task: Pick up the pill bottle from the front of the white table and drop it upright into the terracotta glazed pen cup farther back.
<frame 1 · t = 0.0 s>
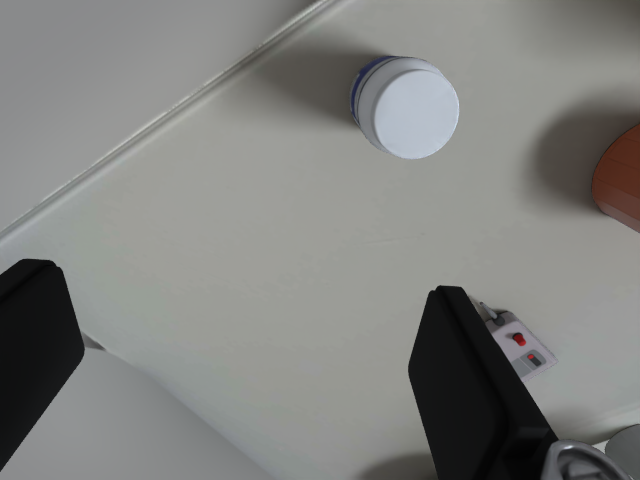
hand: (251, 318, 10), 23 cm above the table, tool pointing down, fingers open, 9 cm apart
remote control: (501, 343, 41), on the table
pill bottle: (383, 95, 29), on the table
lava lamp: (636, 441, 51), on the table
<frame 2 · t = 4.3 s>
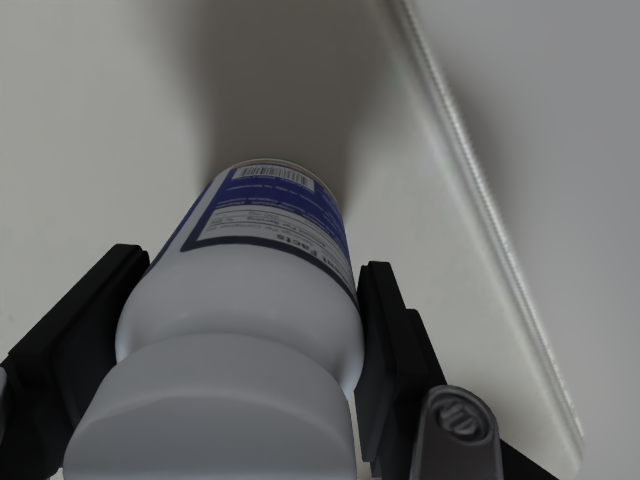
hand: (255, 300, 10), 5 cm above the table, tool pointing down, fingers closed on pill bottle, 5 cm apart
pill bottle: (272, 222, 15), on the table, touching gripper
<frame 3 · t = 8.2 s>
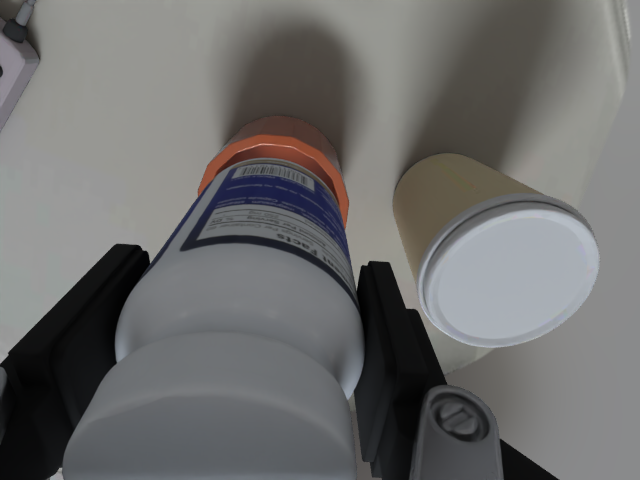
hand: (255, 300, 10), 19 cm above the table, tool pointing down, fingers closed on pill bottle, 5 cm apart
pen cup: (281, 177, 28), on the table
pill bottle: (272, 221, 15), point 14 cm above the table, touching gripper
coffee cup: (438, 198, 30), on the table
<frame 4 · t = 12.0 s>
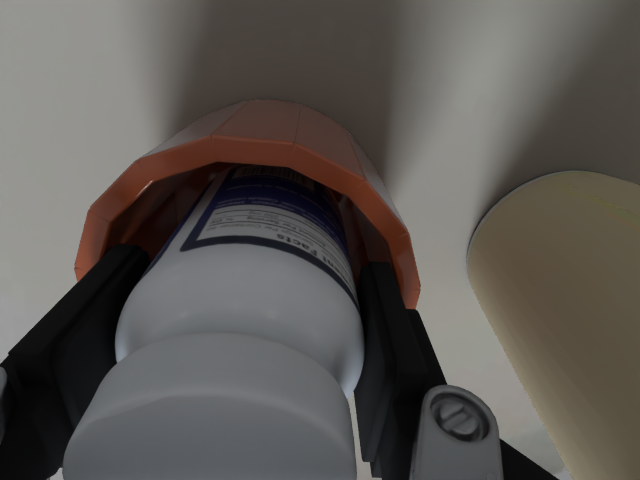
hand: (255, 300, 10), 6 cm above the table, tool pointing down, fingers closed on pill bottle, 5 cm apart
pen cup: (273, 211, 16), on the table
pill bottle: (272, 221, 15), point 1 cm above the table, touching gripper
coffee cup: (545, 246, 17), on the table
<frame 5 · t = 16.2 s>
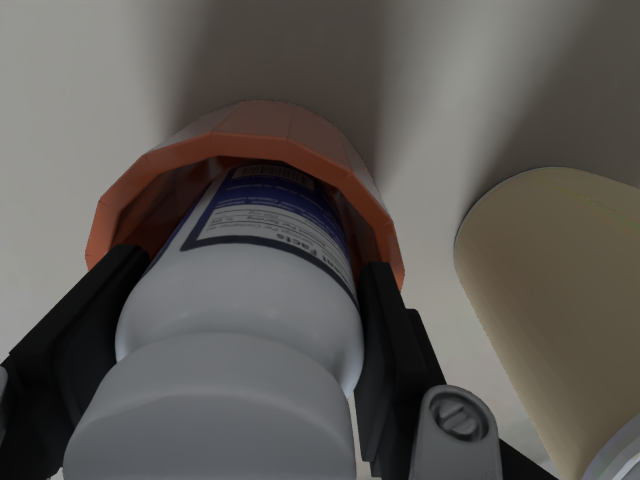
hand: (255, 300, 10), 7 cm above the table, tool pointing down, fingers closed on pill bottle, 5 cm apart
pen cup: (269, 206, 17), on the table
pill bottle: (272, 221, 15), point 2 cm above the table, touching gripper
coffee cup: (528, 239, 18), on the table
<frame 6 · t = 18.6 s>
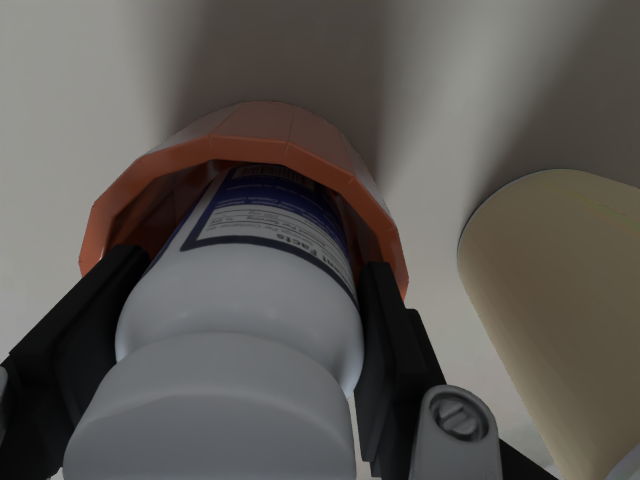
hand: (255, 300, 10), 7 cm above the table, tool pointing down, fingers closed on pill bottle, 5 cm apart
pen cup: (269, 209, 16), on the table
pill bottle: (272, 221, 15), point 2 cm above the table, touching gripper
coffee cup: (533, 242, 18), on the table
when the fingers open (7 cm above the table, at t = 20.1 s): pill bottle drops 2 cm, resting on pen cup.
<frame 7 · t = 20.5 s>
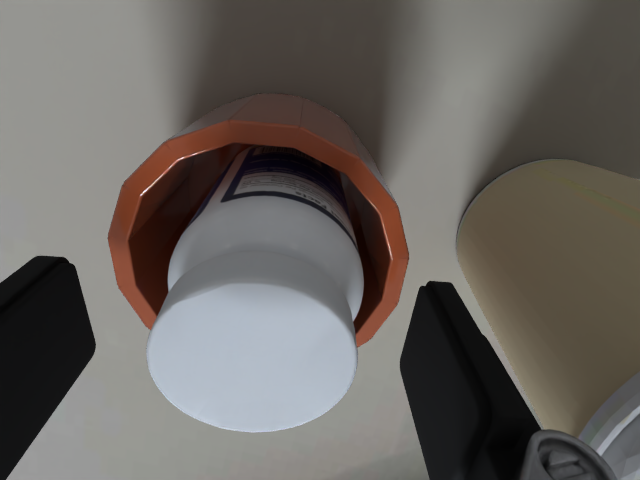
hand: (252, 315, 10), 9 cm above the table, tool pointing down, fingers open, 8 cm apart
pen cup: (278, 196, 17), on the table
pill bottle: (283, 198, 17), resting on pen cup
coffee cup: (529, 230, 19), on the table
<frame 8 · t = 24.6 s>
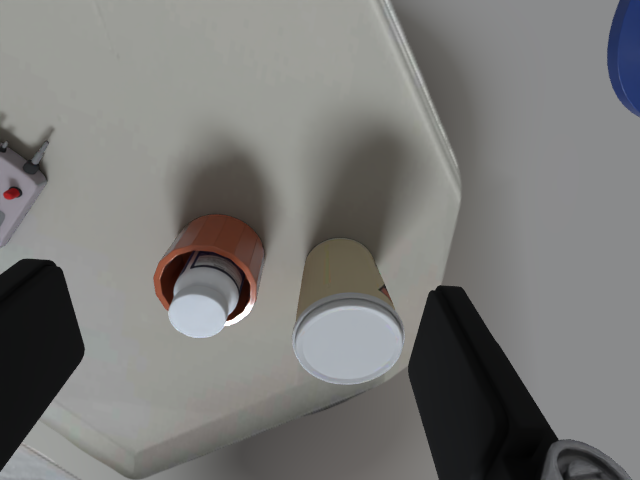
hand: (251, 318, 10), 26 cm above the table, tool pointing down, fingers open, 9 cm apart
pen cup: (221, 253, 39), on the table
pill bottle: (223, 254, 39), resting on pen cup
coffee cup: (339, 266, 40), on the table
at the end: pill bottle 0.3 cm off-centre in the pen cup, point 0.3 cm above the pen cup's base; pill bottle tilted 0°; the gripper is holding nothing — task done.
